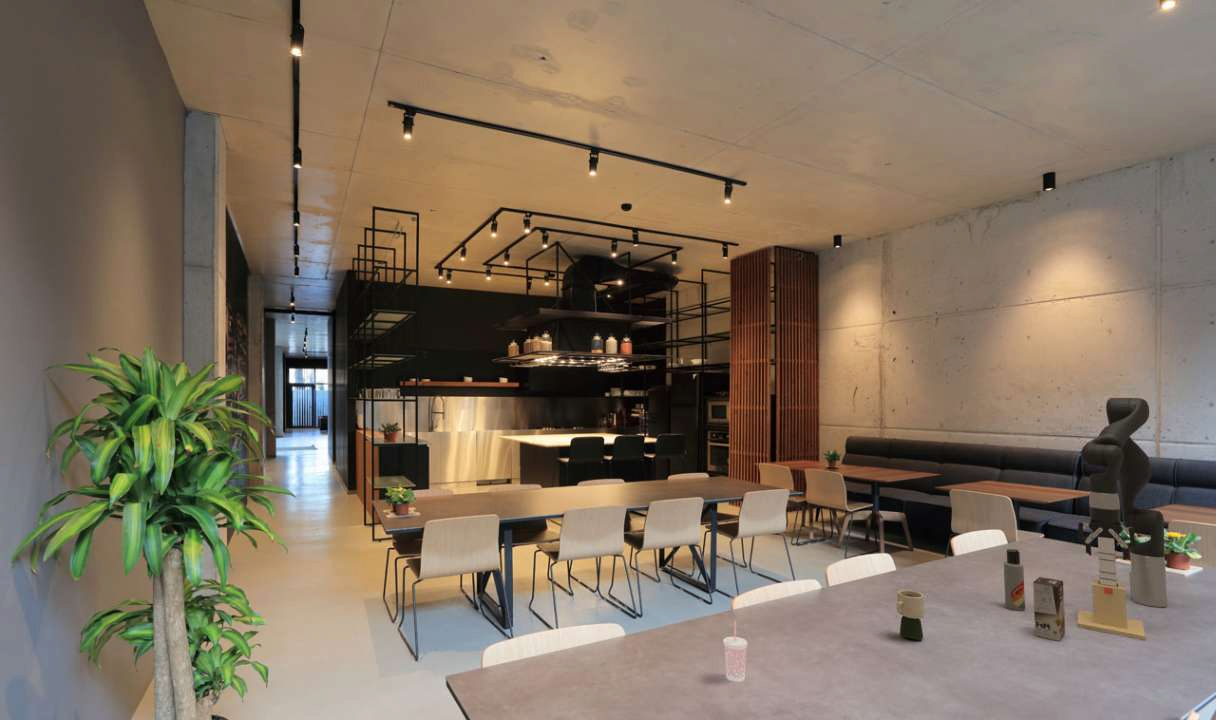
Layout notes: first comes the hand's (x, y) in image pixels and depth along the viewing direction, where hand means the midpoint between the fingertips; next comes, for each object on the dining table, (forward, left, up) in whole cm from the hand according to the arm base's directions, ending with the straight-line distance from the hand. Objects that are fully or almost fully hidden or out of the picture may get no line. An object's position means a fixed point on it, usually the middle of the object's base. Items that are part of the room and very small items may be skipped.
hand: (1106, 557), depth 191 cm
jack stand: (0, 0, -22) cm, 22 cm away
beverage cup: (+51, -124, -22) cm, 136 cm away
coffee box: (+10, -24, -22) cm, 34 cm away
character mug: (+18, -68, -22) cm, 74 cm away
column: (0, 0, -14) cm, 14 cm away
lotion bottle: (-14, -21, -22) cm, 33 cm away
